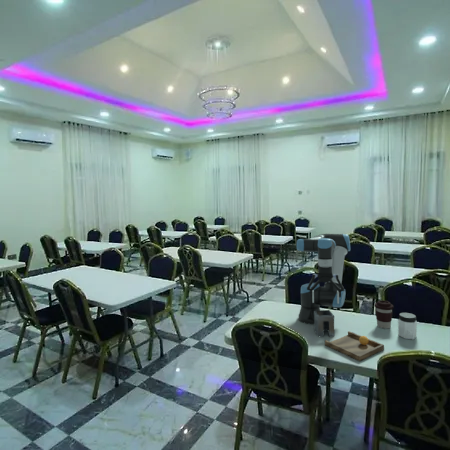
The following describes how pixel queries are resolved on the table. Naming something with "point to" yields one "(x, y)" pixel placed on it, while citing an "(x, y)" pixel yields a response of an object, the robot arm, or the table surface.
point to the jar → (407, 325)
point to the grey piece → (323, 322)
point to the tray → (355, 346)
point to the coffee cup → (384, 314)
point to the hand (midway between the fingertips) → (325, 302)
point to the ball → (363, 340)
